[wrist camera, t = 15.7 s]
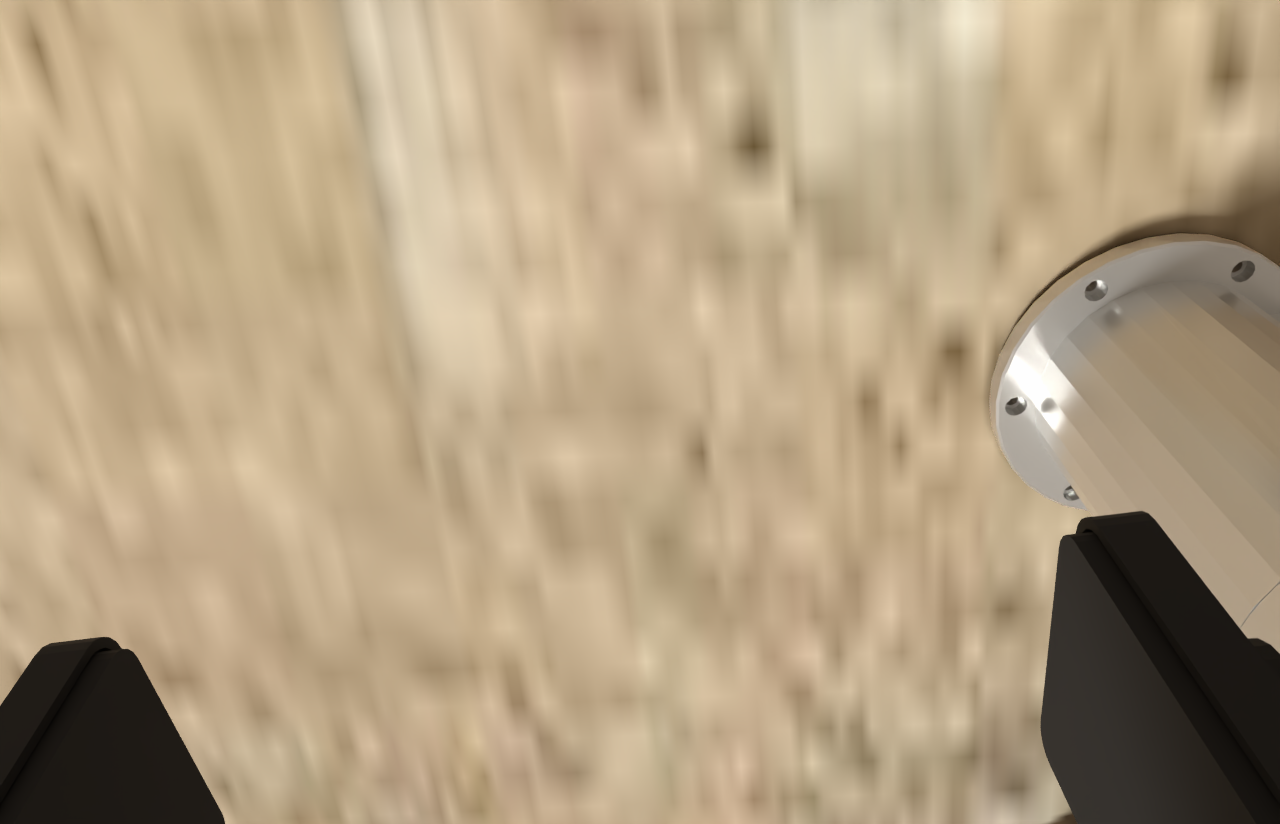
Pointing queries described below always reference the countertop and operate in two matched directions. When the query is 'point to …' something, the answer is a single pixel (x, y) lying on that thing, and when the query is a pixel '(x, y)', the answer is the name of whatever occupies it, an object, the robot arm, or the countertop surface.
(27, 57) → the countertop surface
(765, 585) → the countertop surface
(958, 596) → the countertop surface
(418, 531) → the countertop surface
